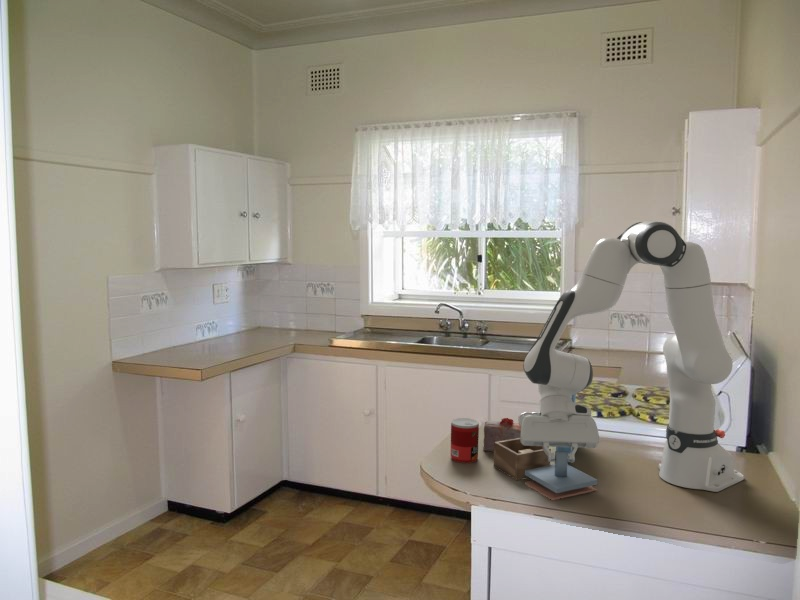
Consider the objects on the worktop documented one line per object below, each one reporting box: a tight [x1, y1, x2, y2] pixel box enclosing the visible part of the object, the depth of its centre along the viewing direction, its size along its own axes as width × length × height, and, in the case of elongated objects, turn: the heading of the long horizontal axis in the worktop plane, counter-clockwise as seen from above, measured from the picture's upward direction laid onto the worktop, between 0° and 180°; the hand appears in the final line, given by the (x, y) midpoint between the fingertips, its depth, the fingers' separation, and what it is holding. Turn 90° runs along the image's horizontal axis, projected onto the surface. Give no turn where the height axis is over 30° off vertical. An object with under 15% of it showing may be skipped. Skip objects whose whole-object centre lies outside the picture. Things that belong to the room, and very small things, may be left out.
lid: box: [525, 450, 598, 493], centre depth 169 cm, size 13×13×8 cm
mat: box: [524, 480, 597, 501], centre depth 170 cm, size 14×11×1 cm
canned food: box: [450, 417, 480, 464], centre depth 189 cm, size 8×8×11 cm
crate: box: [493, 438, 552, 481], centre depth 181 cm, size 11×11×7 cm
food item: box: [483, 417, 521, 452], centre depth 196 cm, size 14×8×10 cm, turn 77°
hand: (561, 461), depth 168 cm, fingers open, 4 cm apart
